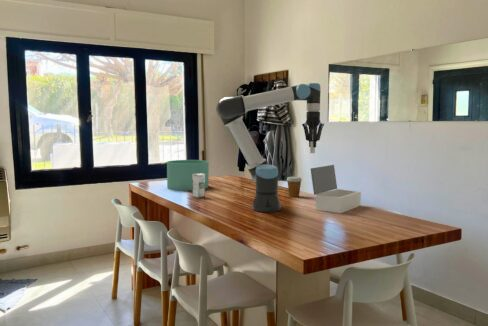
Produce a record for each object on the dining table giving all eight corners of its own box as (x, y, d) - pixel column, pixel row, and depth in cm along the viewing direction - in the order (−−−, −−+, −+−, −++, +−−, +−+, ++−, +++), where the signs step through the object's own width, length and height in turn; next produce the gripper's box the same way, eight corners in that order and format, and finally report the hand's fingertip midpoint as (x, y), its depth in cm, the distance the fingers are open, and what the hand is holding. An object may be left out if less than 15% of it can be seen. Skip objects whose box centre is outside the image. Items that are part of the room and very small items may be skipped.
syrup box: (198, 195, 261) (198, 172, 259) (205, 196, 257) (205, 173, 256) (192, 196, 256) (191, 173, 255) (198, 197, 253) (198, 174, 251)
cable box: (340, 213, 210) (340, 197, 210) (316, 209, 219) (316, 194, 218) (360, 205, 231) (360, 191, 230) (337, 202, 239) (337, 189, 239)
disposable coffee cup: (301, 197, 255) (301, 178, 254) (285, 197, 257) (286, 178, 256) (301, 195, 264) (302, 176, 263) (287, 194, 266) (287, 176, 265)
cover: (312, 168, 219) (310, 168, 219) (315, 194, 218) (313, 194, 219) (333, 164, 239) (332, 165, 240) (337, 188, 239) (335, 188, 239)
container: (164, 185, 306) (164, 160, 304) (203, 183, 315) (203, 159, 313) (170, 191, 278) (169, 163, 276) (212, 189, 287) (212, 163, 285)
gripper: (326, 111, 229) (326, 153, 232) (306, 111, 237) (305, 152, 240) (320, 110, 224) (319, 154, 226) (299, 111, 231) (299, 153, 234)
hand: (312, 153), depth 233 cm, fingers closed
